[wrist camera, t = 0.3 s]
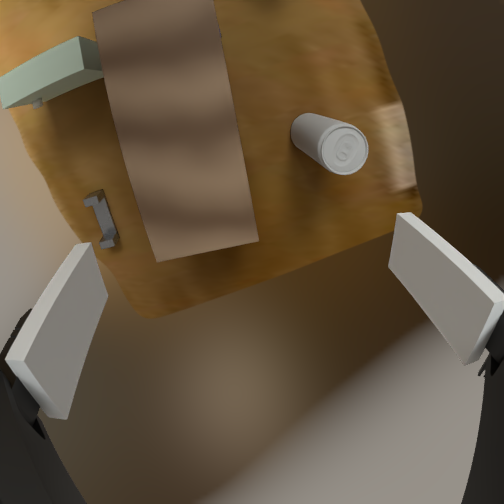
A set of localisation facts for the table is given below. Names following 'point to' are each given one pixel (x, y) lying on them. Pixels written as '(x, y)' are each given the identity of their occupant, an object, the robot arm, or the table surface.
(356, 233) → the table surface
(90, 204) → the hinge clips
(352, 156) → the beverage can
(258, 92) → the table surface
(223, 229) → the cabinet
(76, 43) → the pale green square block
